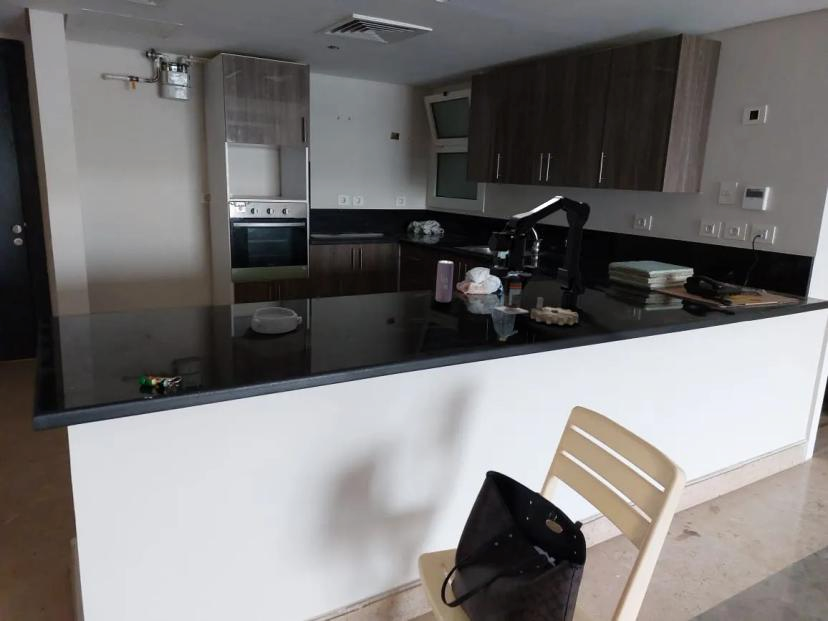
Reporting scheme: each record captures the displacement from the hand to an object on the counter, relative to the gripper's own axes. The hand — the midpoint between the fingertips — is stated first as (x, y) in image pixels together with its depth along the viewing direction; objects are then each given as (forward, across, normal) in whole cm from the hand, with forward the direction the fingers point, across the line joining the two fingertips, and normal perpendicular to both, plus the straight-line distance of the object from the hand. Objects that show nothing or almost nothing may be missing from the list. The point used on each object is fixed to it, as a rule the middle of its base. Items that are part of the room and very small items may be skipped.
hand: (512, 294), depth 207 cm
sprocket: (+6, -6, +16) cm, 18 cm away
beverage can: (+6, +16, -21) cm, 27 cm away
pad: (+6, 0, 0) cm, 6 cm away
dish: (+6, +86, -2) cm, 86 cm away
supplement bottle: (+5, 0, 0) cm, 5 cm away
